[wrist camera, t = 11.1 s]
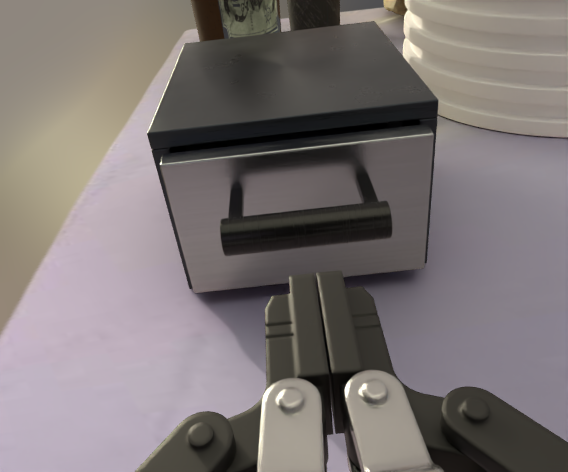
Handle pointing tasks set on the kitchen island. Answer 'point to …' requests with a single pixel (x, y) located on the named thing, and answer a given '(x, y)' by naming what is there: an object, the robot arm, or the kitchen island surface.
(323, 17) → the travel mug
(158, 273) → the kitchen island surface
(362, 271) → the drawer
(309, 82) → the cabinet
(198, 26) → the olive oil
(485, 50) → the plate stack
